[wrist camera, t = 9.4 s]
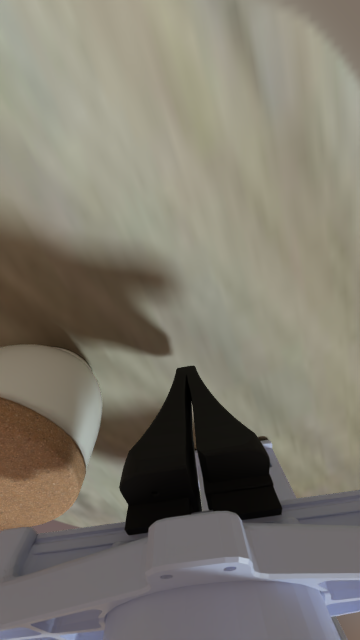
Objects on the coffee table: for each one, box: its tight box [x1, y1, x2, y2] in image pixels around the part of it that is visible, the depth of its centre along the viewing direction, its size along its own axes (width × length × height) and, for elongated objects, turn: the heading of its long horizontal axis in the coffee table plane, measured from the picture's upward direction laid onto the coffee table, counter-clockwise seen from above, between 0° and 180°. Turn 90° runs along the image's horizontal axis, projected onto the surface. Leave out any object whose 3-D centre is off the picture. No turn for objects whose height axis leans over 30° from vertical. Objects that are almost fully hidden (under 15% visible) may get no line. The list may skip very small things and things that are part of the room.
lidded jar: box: [0, 344, 102, 530], centre depth 11 cm, size 11×11×9 cm
